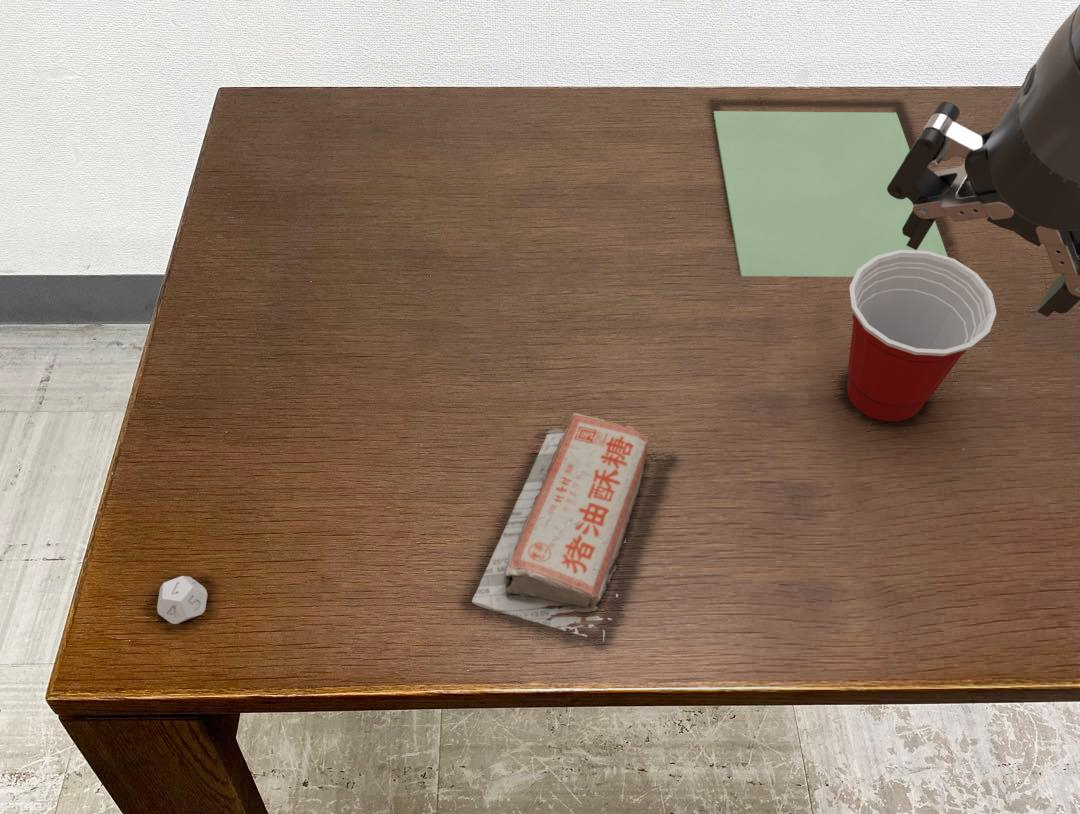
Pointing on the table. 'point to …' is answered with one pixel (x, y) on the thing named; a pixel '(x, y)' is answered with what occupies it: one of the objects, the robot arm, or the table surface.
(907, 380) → the plastic cup
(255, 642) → the table surface
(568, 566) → the packaged product
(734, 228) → the mat
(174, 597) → the game die
